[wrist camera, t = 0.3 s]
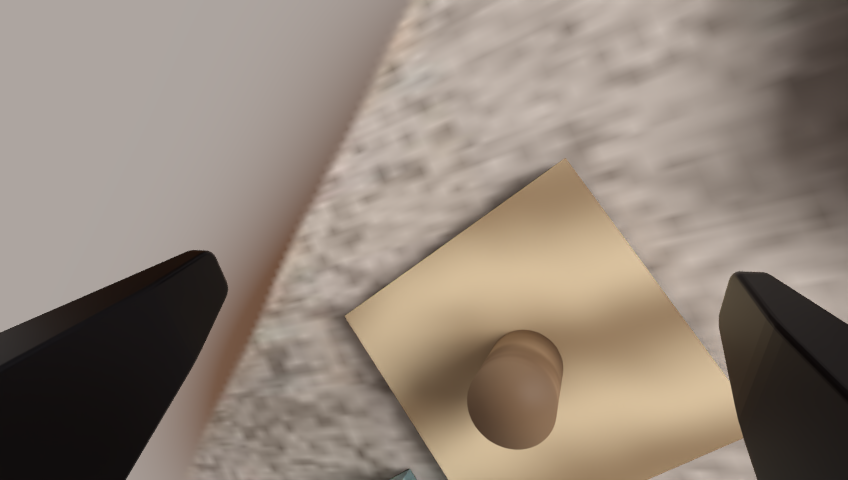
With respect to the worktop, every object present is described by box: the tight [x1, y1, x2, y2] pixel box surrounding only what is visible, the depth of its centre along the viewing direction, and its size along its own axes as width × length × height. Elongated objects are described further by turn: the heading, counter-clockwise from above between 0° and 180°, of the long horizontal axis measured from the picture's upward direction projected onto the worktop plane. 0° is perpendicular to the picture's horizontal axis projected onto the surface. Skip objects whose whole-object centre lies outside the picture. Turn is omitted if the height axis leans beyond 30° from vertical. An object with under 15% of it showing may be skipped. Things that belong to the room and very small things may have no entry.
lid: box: [345, 158, 743, 480], centre depth 19 cm, size 13×13×5 cm
